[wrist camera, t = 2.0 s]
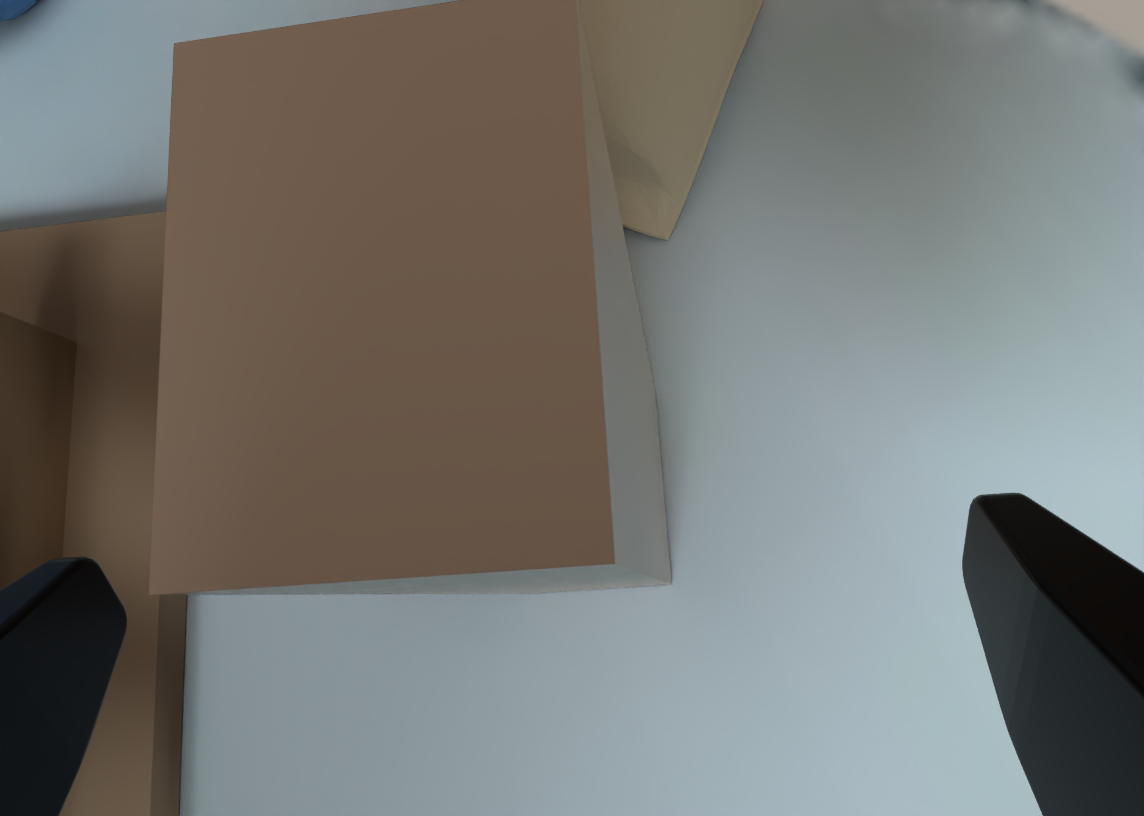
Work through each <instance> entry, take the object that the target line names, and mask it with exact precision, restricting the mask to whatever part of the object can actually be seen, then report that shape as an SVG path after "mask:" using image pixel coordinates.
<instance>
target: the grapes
mask: <svg viewBox="0 0 1144 816" xmlns="http://www.w3.org/2000/svg"><path fill="white" fill-rule="evenodd" d="M36 1H37V0H0V21H3V20H11V19H16V18H17V17H19V16H20V15H21V14H23V13H24V12H25V11H26V10H28V9H29V8H30V7H32V6H33V5H34V4H35V3H36Z"/></svg>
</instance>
